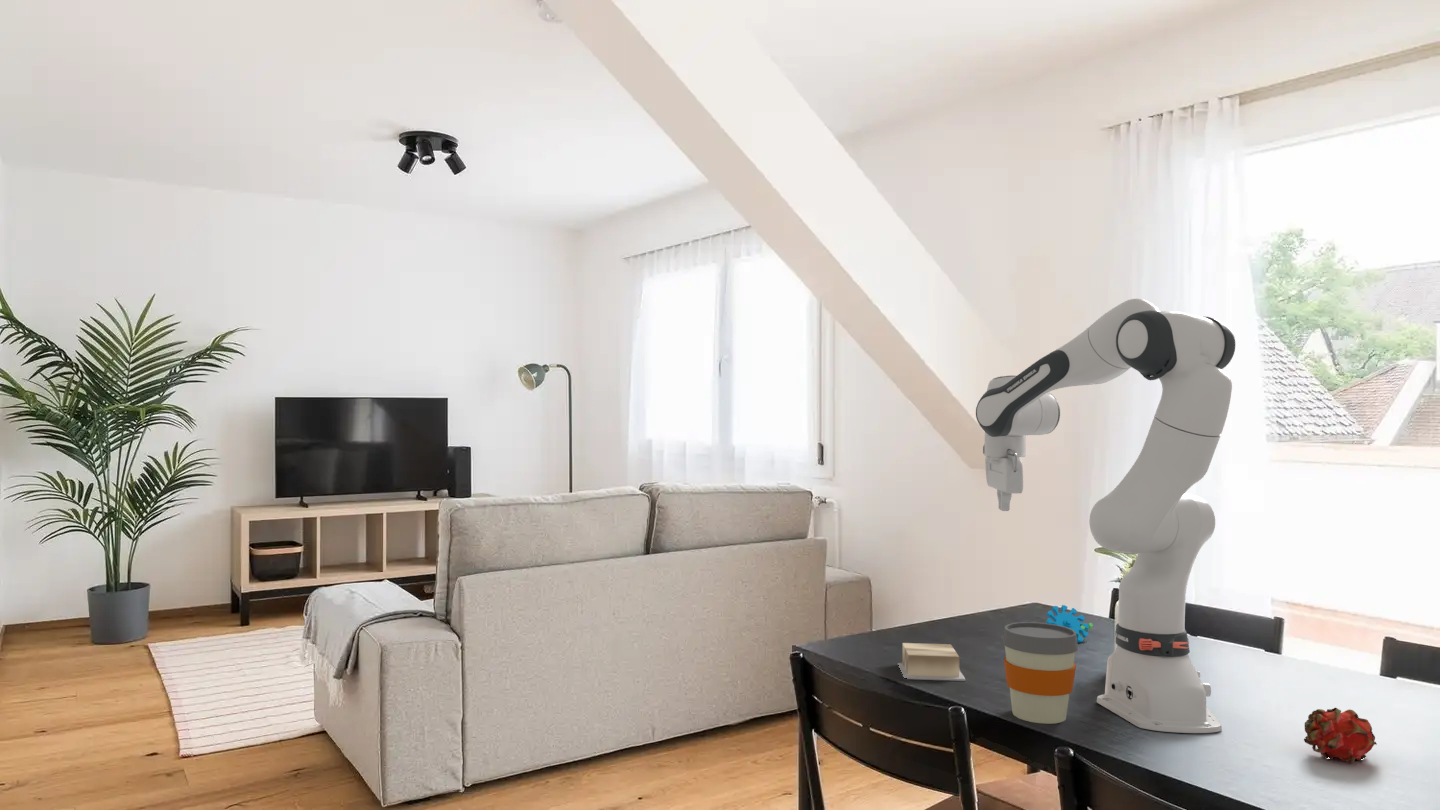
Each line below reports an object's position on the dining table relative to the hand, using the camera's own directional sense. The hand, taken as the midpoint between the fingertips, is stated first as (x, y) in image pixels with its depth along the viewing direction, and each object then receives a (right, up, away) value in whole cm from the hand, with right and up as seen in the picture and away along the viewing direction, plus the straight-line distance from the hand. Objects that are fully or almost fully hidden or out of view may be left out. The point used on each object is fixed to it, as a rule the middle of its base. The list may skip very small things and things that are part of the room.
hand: (1003, 510), depth 213 cm
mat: (-21, -31, -19) cm, 42 cm away
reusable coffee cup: (-7, -31, -46) cm, 56 cm away
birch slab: (-20, -29, -13) cm, 37 cm away
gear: (+18, -32, +10) cm, 38 cm away
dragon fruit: (+33, -32, -64) cm, 79 cm away
